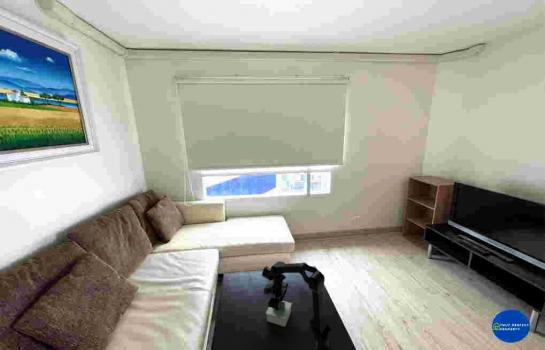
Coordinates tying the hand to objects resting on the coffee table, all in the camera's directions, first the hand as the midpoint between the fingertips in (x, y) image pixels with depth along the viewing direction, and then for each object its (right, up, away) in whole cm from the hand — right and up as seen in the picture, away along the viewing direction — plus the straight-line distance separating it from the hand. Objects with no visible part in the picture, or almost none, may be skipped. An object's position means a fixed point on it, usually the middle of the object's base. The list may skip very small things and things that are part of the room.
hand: (279, 306), depth 126 cm
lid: (0, -3, +1) cm, 3 cm away
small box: (-2, -2, +29) cm, 29 cm away
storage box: (0, -7, +1) cm, 7 cm away
